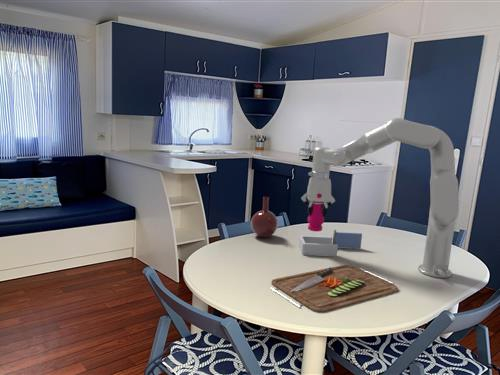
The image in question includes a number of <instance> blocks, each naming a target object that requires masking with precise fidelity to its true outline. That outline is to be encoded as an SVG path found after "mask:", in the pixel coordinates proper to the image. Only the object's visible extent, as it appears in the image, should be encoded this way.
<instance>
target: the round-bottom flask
mask: <svg viewBox="0 0 500 375" xmlns="http://www.w3.org/2000/svg"><path fill="white" fill-rule="evenodd" d="M262 198H263V199H262V210H259V211H257V212H256V213H255V214H254V215H253V216H252V218H251V220H250V228H251V229H252V231H253V233H254V234H255V235H256V236H257V237H260V238H269V237H271V236H273V235H274V234H275V233H276V231H277V230H278V224H279V222H278V218H277V216H276V215H275V214H274V213H273V212H272V211H270V210H269V199H270V197H269V196H265V195H264V196H262Z"/></svg>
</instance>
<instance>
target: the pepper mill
mask: <svg viewBox="0 0 500 375" xmlns="http://www.w3.org/2000/svg"><path fill="white" fill-rule="evenodd" d="M321 195H322V194H317V198H321V197H322V196H321ZM323 205H324V203H323V202H313V203H312V205H311V207H312V214H311V216H309V215H308V216H307V222H308V225H307V229H308V230H309V231H311V232H321V231H323V226H322V225H323V224H324V222H325V217H323V214H322V210H323Z"/></svg>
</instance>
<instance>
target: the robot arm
mask: <svg viewBox="0 0 500 375" xmlns="http://www.w3.org/2000/svg"><path fill="white" fill-rule="evenodd" d="M396 142H399V143H404V144H408V145H411V146H414V147H417V148H421V149H428V150H429V153H430V179H429V185H430V186H429V188H430V189H429V190H430V192H429V193H430V206H429V214H428V215H429V216H428V223H427V224H428V225H427V231H426V236H425V237H426V238H425V246H424V253H423V260H422V264H419V265H418V267H417V270H418V271H419V272H420V273H422V274H424V275H426V276H429V277H433V278H441V279H447V278H451V277H452V275H453V273H452V271H451V269H449V265H450V260H451V259H450V258H451V252H452V247H453V238H454V234H455V233H454V232H455V223H456V220H457V219H458V217H459V213H460V212H459V210H460V209H459V208H460V206H459V204H460V202H459V197H460V196H459V180H458V178H457V174H456V161H455V160H456V159H455V149H454V144H453V141H452V140H451V138H450V137H449V136H448V134H447V133H445V132H444V130H442V129H439V128H437V127H436V126H432V125H427V124H423V123H419V122H414V121H411V120H407V119H404V118H401V117H395V118H392V119H390V120H389V121H388V122H385V123H384V124H381V125H380V126H377V127H375V128H373V129H371V130H369V131H367V132H365V133H364V134H362V135H361V136H360V137H359V138H357V139H355V140H353V141H351V142H349V143H347V144H345V145H344V146H341V147H337V148H329V147H325V146H316V147H314V149H313V154H312V156H313V157H312V168H311V171H310V172H308V174H307V175H308V176H310V177H309V180H308V184H307V188H306V189H307V191H306V193H304V194H303V195H302V196H301V198H300V199H301V201H303V203H305V204H306V206H307V214H308V216H311V214H312V206H313V202H323V206H322V209H321V210H322V214H323V217H324V218H326V215H327V211H328V210H327V209H328V208H329V207H330V206H331V205H332V204H334V203H335V202H336V199H335V198H334V196H333V195H332V182H331V179H330V169H331V166H334V167H339V168H340V167H342V166H344V165H347V164H348V163H350V162H353V161H355V160H357V159H359V158H362V157H363V156H365V155H369V154H373V153H374V152H377V151H379V150H381V149H383V148H385V147H387V146H389V145H391V144H394V143H396ZM317 194H322V195H321V196H322V197H321V198H317Z"/></svg>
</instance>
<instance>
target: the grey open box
mask: <svg viewBox="0 0 500 375" xmlns="http://www.w3.org/2000/svg"><path fill="white" fill-rule="evenodd" d="M332 243H333V236H318V235H299V236H298V248H299V250H300V253H301V255H302V256H321V257H322V256H323V257H337V256H338V248H339V247H338V245H335V244H332Z"/></svg>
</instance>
